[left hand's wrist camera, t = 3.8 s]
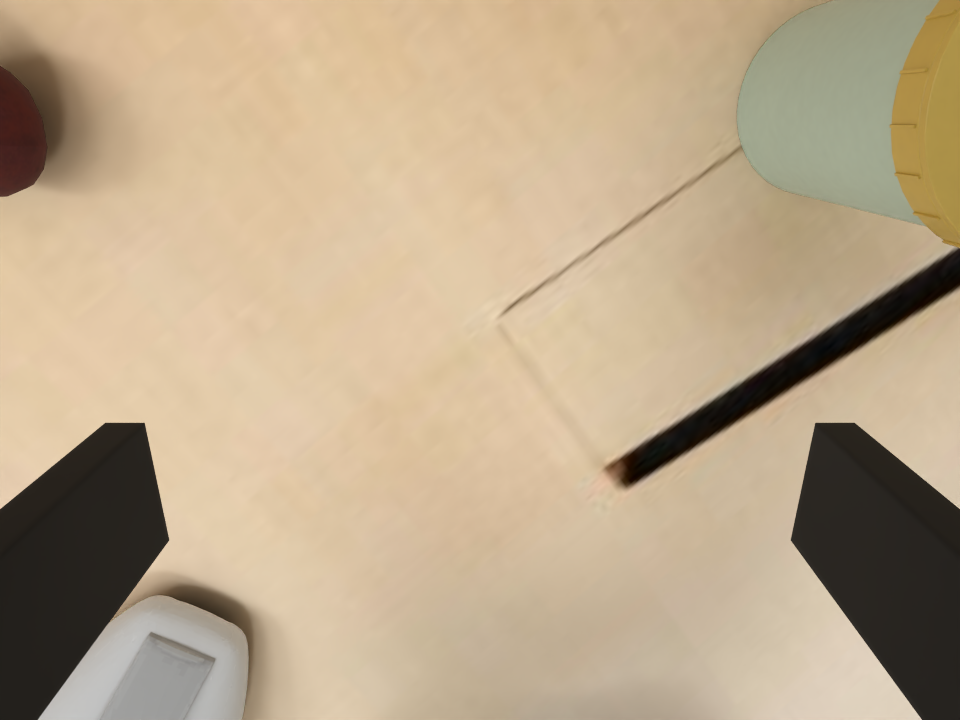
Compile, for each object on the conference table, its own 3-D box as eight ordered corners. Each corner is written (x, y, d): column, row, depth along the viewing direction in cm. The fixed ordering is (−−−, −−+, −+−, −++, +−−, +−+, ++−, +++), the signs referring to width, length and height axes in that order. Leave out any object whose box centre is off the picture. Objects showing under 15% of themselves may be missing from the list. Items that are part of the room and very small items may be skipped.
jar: (959, 73, 36) (1341, 39, 20) (830, 228, 39) (1071, 306, 23) (824, -41, 34) (1129, -181, 18) (699, 131, 37) (866, 144, 21)
